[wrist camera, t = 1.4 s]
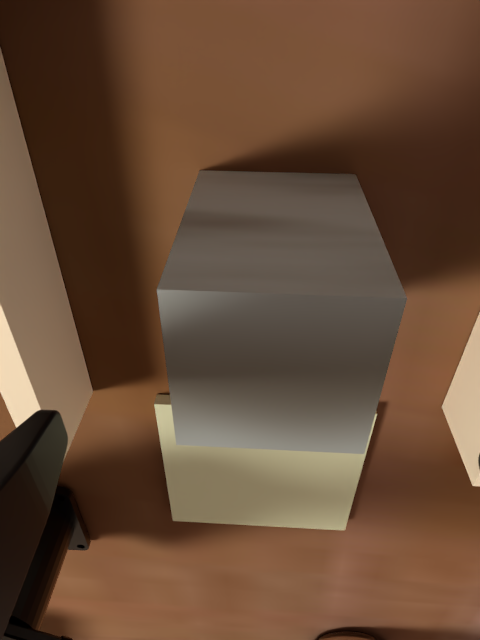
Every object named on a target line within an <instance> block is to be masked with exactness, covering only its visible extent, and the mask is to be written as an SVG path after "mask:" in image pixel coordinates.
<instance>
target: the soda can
mask: <svg viewBox="0 0 480 640" xmlns="http://www.w3.org/2000/svg"><path fill="white" fill-rule="evenodd" d="M318 640H376V639H375V638H374V637H372V636H370V635H367V634H364V633H359V632H350V631H343V632H334V633H330V634H326V635H324V636H322V637H320V638H319V639H318Z"/></svg>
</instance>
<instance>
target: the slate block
mask: <svg viewBox="0 0 480 640" xmlns="http://www.w3.org/2000/svg"><path fill="white" fill-rule="evenodd" d="M157 296H158V304H159V311H160V319H161V327H162V335H163V343H164V351H165V359H166V367H167V375H168V383H169V391H170V399H171V407H172V415H173V423H174V431H175V439H176V445H187V446H208V447H228V448H248V449H269V450H289V451H310V452H330V453H351V454H364V453H365V449H366V446H367V442H368V438H369V435H370V431H371V428H372V424H373V420H374V417H375V413H376V409H377V406H378V402H379V398H380V395H381V391H382V387H383V384H384V380H385V377H386V373H387V369H388V366H389V362H390V358H391V355H392V351H393V347H394V344H395V340H396V337H397V333H398V329H399V326H400V322H401V318H402V315H403V311H404V307H405V304H406V300H407V297H406V295H405V292H404V290H403V287H402V285H401V282H400V280H399V278H398V275H397V273H396V270H395V268H394V266H393V263H392V261H391V258H390V256H389V253H388V251H387V249H386V246H385V244H384V241H383V239H382V237H381V234H380V232H379V229H378V227H377V224H376V222H375V220H374V217H373V215H372V212H371V210H370V208H369V205H368V203H367V200H366V198H365V195H364V193H363V191H362V188H361V186H360V183H359V181H358V179H357V176H356V174H328V173H287V172H246V171H204V170H200V171H199V174H198V177H197V179H196V182H195V185H194V188H193V191H192V193H191V196H190V199H189V202H188V204H187V207H186V210H185V213H184V215H183V218H182V221H181V224H180V226H179V229H178V232H177V235H176V238H175V240H174V243H173V246H172V249H171V251H170V254H169V257H168V260H167V262H166V265H165V268H164V271H163V273H162V276H161V279H160V282H159V285H158V287H157Z"/></svg>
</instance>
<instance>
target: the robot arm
mask: <svg viewBox="0 0 480 640" xmlns="http://www.w3.org/2000/svg"><path fill="white" fill-rule="evenodd" d="M67 445H68V435H67V431H66V428H65V425H64V423H63V420H62V417H61V414H60V413H59V412H58V411H57V410H38V411H36V412H35V413H34V414H32V415H31V416H30V417H29V418H28V419H26V420H25V421H24V422H23V423H22V424H20V425H19V426H18V427H17V428H16V429H14V430H13V431H12V432H11V433H10V434H8V435H7V436H6V437H5V438H4V439H2V440H1V441H0V640H72V638H69V637H66V636H61V637H58V636H55V635H52V634H48V633H45V632H41V631H39V629H40V627H41V624H42V621H43V618H44V615H45V612H46V610H47V607H48V604H49V601H50V598H51V595H52V593H53V590H54V587H55V584H56V581H57V578H58V576H59V573H60V570H61V567H62V564H63V561H64V559H65V556H66V553H67V550H87V549H88V548H89V545H90V542H91V541H90V538H89V536H88V533H87V530H86V528H85V525H84V522H83V520H82V517H81V515H80V512H79V509H78V507H77V504H76V502H75V499H74V496H73V494H72V492H71V491H70V490H69V489H67V488H63V487H57V484H58V480H59V476H60V472H61V468H62V464H63V460H64V457H65V453H66V449H67ZM478 464H479V469H480V453H479V457H478Z"/></svg>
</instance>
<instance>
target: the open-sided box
mask: <svg viewBox="0 0 480 640" xmlns="http://www.w3.org/2000/svg"><path fill="white" fill-rule="evenodd" d="M0 392H1V394H2V397H3V399H4V401H5V403H6V406H7V408H8V410H9V412H10V415H11V417H12V419H13V421H14V424H15V426H16V428H17V427H18V426H19V425H20V424H22V423H23V422H24V421H25V420H26V419H28V418H29V417H30V416H31V415H32V414H34V413H35V412H36V411H38V410H57V411H58V412H59V413H60V414H61V417H62V420H63V423H64V425H65V428H66V431H67V435H68V445H67V449H66V453H65V457H66V454H67V452H68V450H69V447H70V445H71V443H72V440H73V438H74V435H75V433H76V431H77V428H78V426H79V424H80V421H81V419H82V417H83V414H84V412H85V410H86V407H87V405H88V403H89V400H90V398H91V395H92V393H93V389H92V385H91V382H90V378H89V374H88V371H87V367H86V363H85V360H84V356H83V352H82V348H81V345H80V341H79V337H78V334H77V330H76V326H75V322H74V319H73V315H72V311H71V308H70V304H69V300H68V297H67V293H66V289H65V285H64V282H63V278H62V274H61V271H60V267H59V263H58V259H57V256H56V252H55V248H54V245H53V241H52V237H51V234H50V230H49V226H48V222H47V219H46V215H45V211H44V208H43V204H42V200H41V197H40V193H39V189H38V185H37V182H36V178H35V174H34V171H33V167H32V163H31V159H30V156H29V152H28V148H27V145H26V141H25V137H24V134H23V130H22V126H21V122H20V119H19V115H18V111H17V108H16V104H15V100H14V96H13V93H12V89H11V85H10V82H9V78H8V74H7V71H6V67H5V63H4V59H3V56H2V52H1V48H0ZM442 409H443V412H444V414H445V417H446V419H447V422H448V424H449V427H450V429H451V432H452V435H453V437H454V440H455V442H456V445H457V447H458V450H459V452H460V455H461V458H462V460H463V463H464V465H465V468H466V470H467V473H468V475H469V478H470V481H471V483H472V486H480V469H479V464H478V457H479V453H480V313H479V315H478V318H477V320H476V323H475V325H474V328H473V330H472V333H471V335H470V338H469V340H468V343H467V345H466V348H465V350H464V353H463V355H462V358H461V360H460V363H459V365H458V368H457V370H456V373H455V375H454V378H453V380H452V383H451V385H450V388H449V390H448V393H447V395H446V398H445V400H444V403H443V405H442ZM65 457H64V459H65ZM63 461H64V460H63Z"/></svg>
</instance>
